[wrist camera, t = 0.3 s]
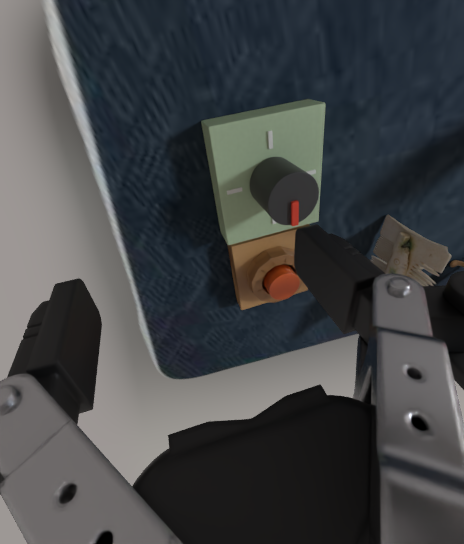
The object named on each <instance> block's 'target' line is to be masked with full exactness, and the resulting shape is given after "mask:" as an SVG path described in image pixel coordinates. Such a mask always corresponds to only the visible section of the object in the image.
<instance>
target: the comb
mask: <svg viewBox="0 0 464 544" xmlns="http://www.w3.org/2000/svg"><path fill="white" fill-rule="evenodd" d="M380 234H381V236H380V237H382V236H383V237H382V238H380V237H379V239H377V240H379V241H377V242H376V243H377V244H376V245H375V246H376V247H377V248H376V247H375V248H374V250H373V252H374V253H375V254H376V255H377V256H378V257H379V258H381V259H382V260H381V259H379V258H377V257H375V256H373V255H371V256H372V259H371V260H373V261H371V260H370V261H371V262H372V263H373V264H375V265H376V266H377V267H378V268H380V269H381V270H382V271H383V272H384V273H386V274H388V273H395V274H401V275H405V276H408V277H410V278H412V279H414V280H416V281H417V282H419V283H420V284H421V285H422V286H429V285H431V286H434V285H433V284H436V283H435V282H434V281H433V280H432V279H431V278H430V277H429V276H428V275H426V274H425V273H424V272H423V271H421V270H420V269H423V268H424V269H425V270H427V271H428V272H430V273H432V274H434V275H436V276H439V274H438V273H437V272H440V273H442V272H443V270H444V268H445V267H446V265H447V263H448V261H449V260H450V258H451V254H449V253H448V247H446V246H443V245H440V244H437V243H435V242H433V241H430V240H428V239H426V238H424V237H422V236H421V235H419V234H417V233H415V232H414V231H412V230H410V229H409V228H407V227H405V226H404V225H402V224H401V223H399V222H398V221H397V220H395V219H394V218H392V217H391V216H389V215H387V216H386V218H385V221H384V224H383V226H382V229H381V232H380ZM380 239H381V240H380ZM384 261H385V262H384ZM434 270H435V271H437V272H435V271H434ZM429 281H430V282H429ZM432 283H433V284H432ZM428 284H429V285H428Z"/></svg>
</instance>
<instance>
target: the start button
mask: <svg viewBox="0 0 464 544" xmlns="http://www.w3.org/2000/svg"><path fill="white" fill-rule="evenodd" d="M299 285H300V280H299V278H298V276H297V275H296V274H295V272H294V271H293V270H292V268H291V267H289V266H287V265H278V266H275V267H273V268H272V269H271V270H269V271H268V272H267V273H266V275H265V277H264V286H265V288H266V289H267V291H268V293H269V294H270V296H271V297H272V298H274V299H276V300H283V299H286V298H289V297H290V296H292V295H293V294H294V293H295V292H296V291H297V290H298V288H299Z"/></svg>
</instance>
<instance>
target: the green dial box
mask: <svg viewBox="0 0 464 544" xmlns="http://www.w3.org/2000/svg"><path fill="white" fill-rule="evenodd" d="M324 120H325V103H324V102H319V101H314V100H310V99H306V100H301V101H296V102H291V103H286V104H281V105H276V106H271V107H266V108H262V109H257V110H252V111H247V112H242V113H237V114H232V115H227V116H222V117H217V118H212V119H207V120H202V121H201V124H202V129H203V135H204V141H205V146H206V152H207V158H208V163H209V169H210V174H211V180H212V186H213V191H214V197H215V203H216V208H217V214H218V220H219V225H220V231H221V233H222V235H223V237H224V239H225V241H226V243H227V245H232V244H236V243H239V242H243V241H247V240H250V239H254V238H258V237H262V236H265V235H269V234H273V233H277V232H280V231H284V230H288V229H291V228H295V227H299V226H303V225H306V224H310V223H314V222H318V219H319V202H320V186H321V169H322V153H323V136H324ZM270 157H282V158H284V159H286V160H288V161H289V162H291V163H293V164H294V165H296V166H297V167H299V168H301V169H302V170H304V171H305V172H307V173H308V174H310V175H311V176H313V177H314V178H315V180H316V182H317V184H318V187H319V198H318V201H317V204H316V206H315V208H314V210H313V211H312V212H311V214H310V215H309V216H308V217H307V218H305V219H304V220H303V221H301V222H299V225H296V226H291V225H281V224H278V223H277V222H275V221H274V220H273V219H272V218H271V217H270V216H269V215H268V213H267V212H266V211H265V210H264V209H263V208H262V207H261V206H260V205H259V204H258V202H257V201H256V200H255V199H254V198H253V196H252V194H251V192H250V178H251V175H252V173H253V171H254V169H255V168H256V167H257V166H258V165H259V164H260V163H261V162H262V161H264V160H265V159H268V158H270Z"/></svg>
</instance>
